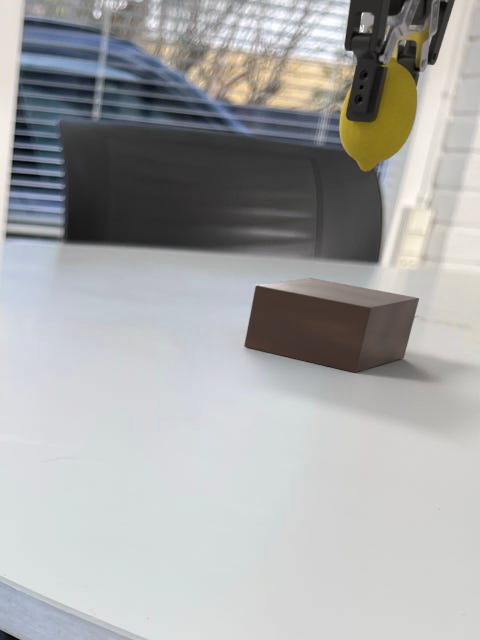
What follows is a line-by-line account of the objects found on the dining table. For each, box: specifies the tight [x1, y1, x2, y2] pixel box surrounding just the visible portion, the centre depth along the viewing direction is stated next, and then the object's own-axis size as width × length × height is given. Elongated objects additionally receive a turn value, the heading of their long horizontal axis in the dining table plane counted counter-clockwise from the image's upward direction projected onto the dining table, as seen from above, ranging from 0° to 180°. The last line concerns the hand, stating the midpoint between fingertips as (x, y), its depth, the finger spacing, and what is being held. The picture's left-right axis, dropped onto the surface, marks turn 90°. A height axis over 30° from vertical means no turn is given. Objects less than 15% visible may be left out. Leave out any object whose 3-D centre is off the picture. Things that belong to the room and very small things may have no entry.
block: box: [243, 277, 420, 373], centre depth 88 cm, size 10×10×5 cm
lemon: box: [338, 57, 418, 173], centre depth 82 cm, size 6×6×8 cm
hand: (376, 122), depth 82 cm, fingers closed on lemon, 5 cm apart
